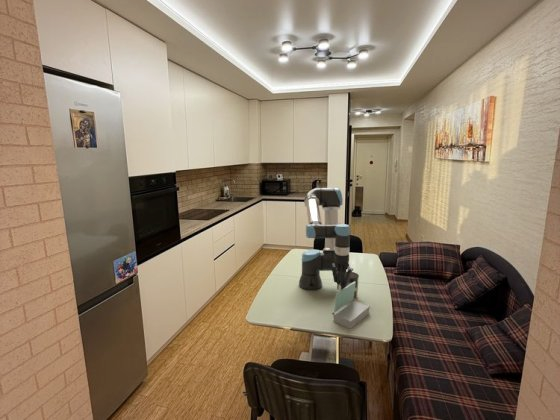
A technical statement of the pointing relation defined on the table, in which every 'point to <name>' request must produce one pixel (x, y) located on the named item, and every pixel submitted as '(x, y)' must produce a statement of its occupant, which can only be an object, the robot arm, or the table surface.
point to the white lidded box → (351, 314)
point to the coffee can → (353, 278)
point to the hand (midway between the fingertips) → (340, 295)
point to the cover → (344, 296)
